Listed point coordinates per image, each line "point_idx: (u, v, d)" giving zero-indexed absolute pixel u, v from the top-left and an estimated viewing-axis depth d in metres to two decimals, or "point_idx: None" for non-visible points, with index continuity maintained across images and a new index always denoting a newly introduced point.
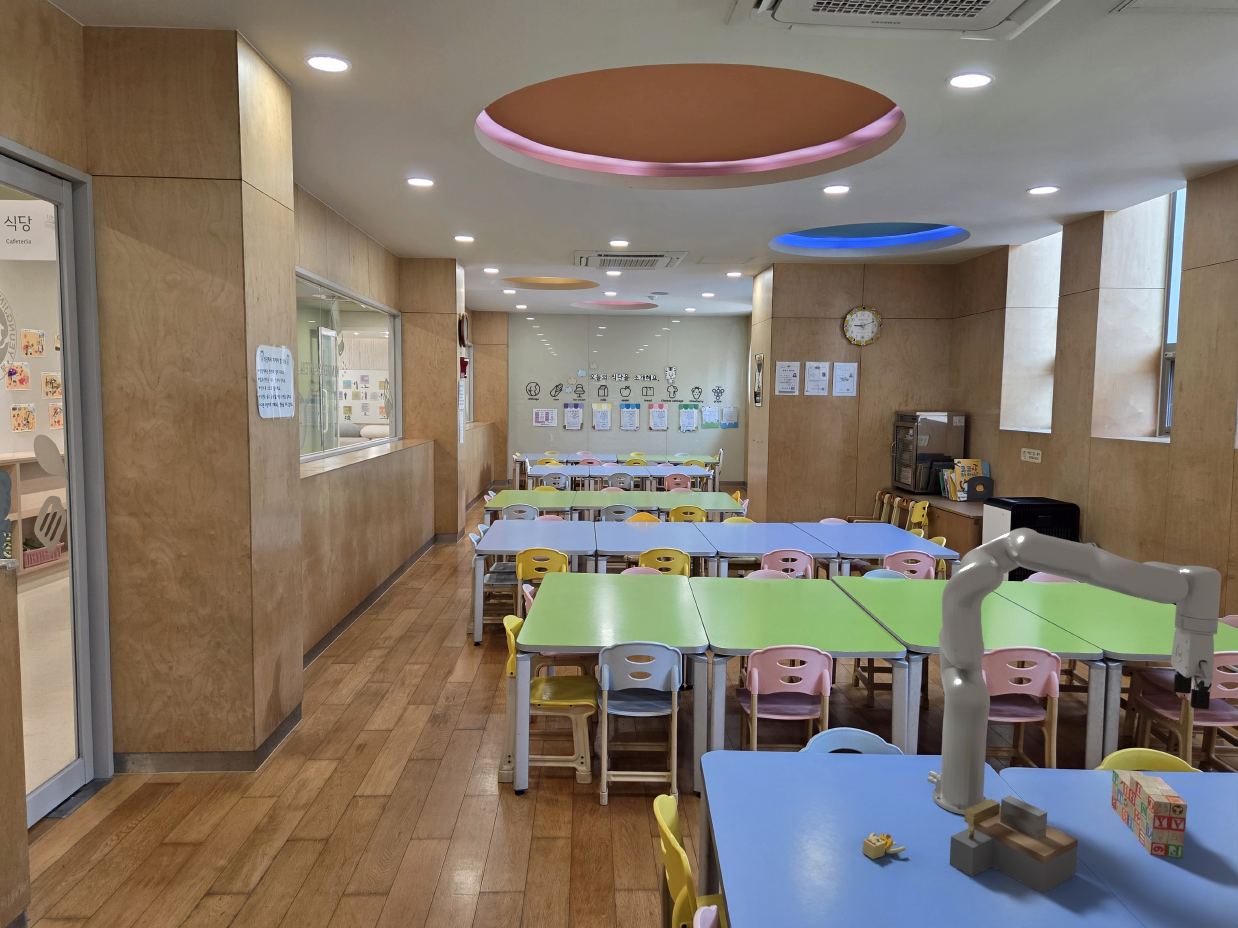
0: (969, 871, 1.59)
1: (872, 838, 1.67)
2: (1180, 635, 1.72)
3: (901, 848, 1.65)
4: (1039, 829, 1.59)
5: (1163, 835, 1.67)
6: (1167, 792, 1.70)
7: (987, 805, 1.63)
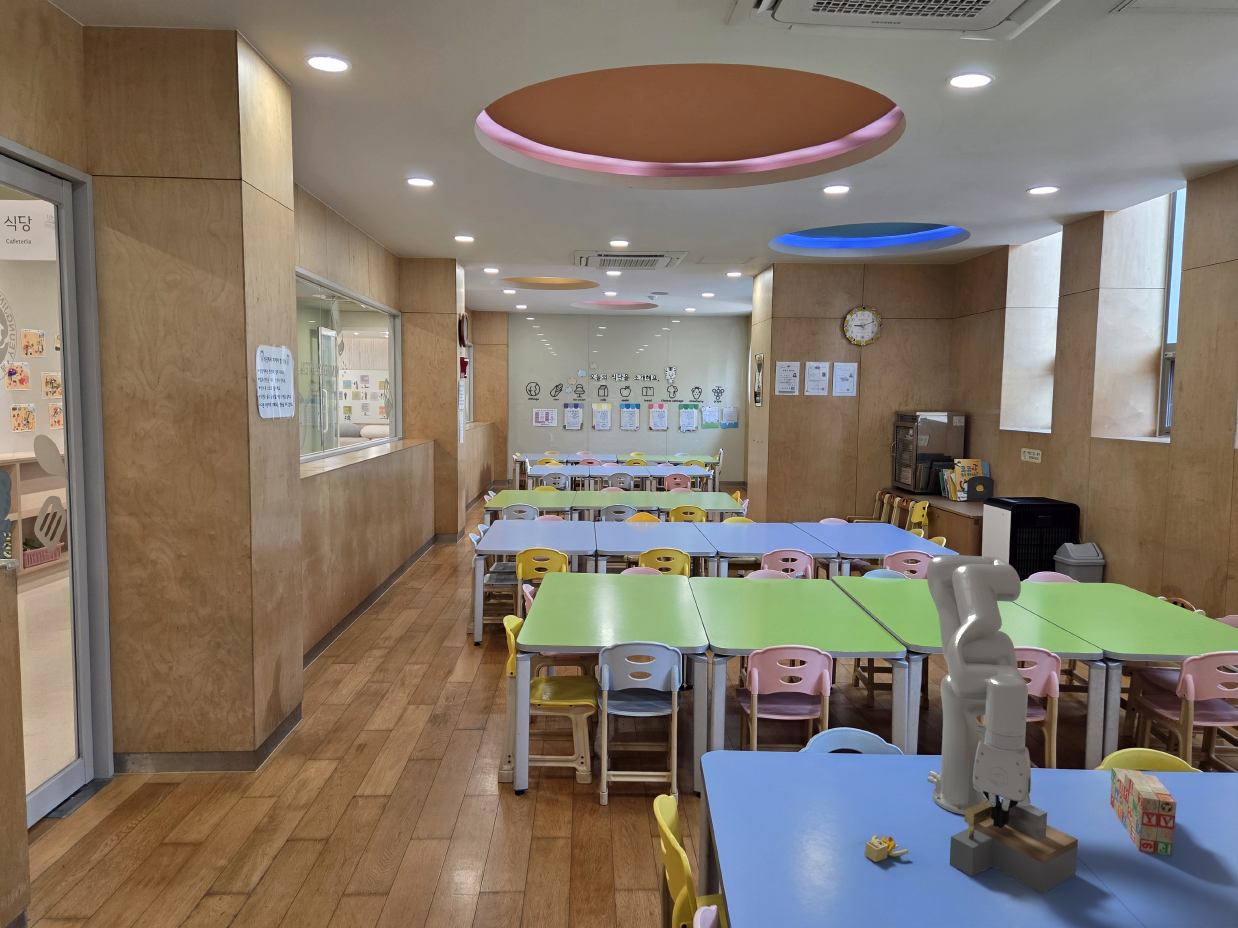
0: (969, 871, 1.59)
1: (874, 841, 1.65)
2: (999, 756, 1.58)
3: (904, 851, 1.64)
4: (1039, 829, 1.59)
5: (1152, 832, 1.68)
6: (1158, 789, 1.71)
7: (987, 805, 1.64)
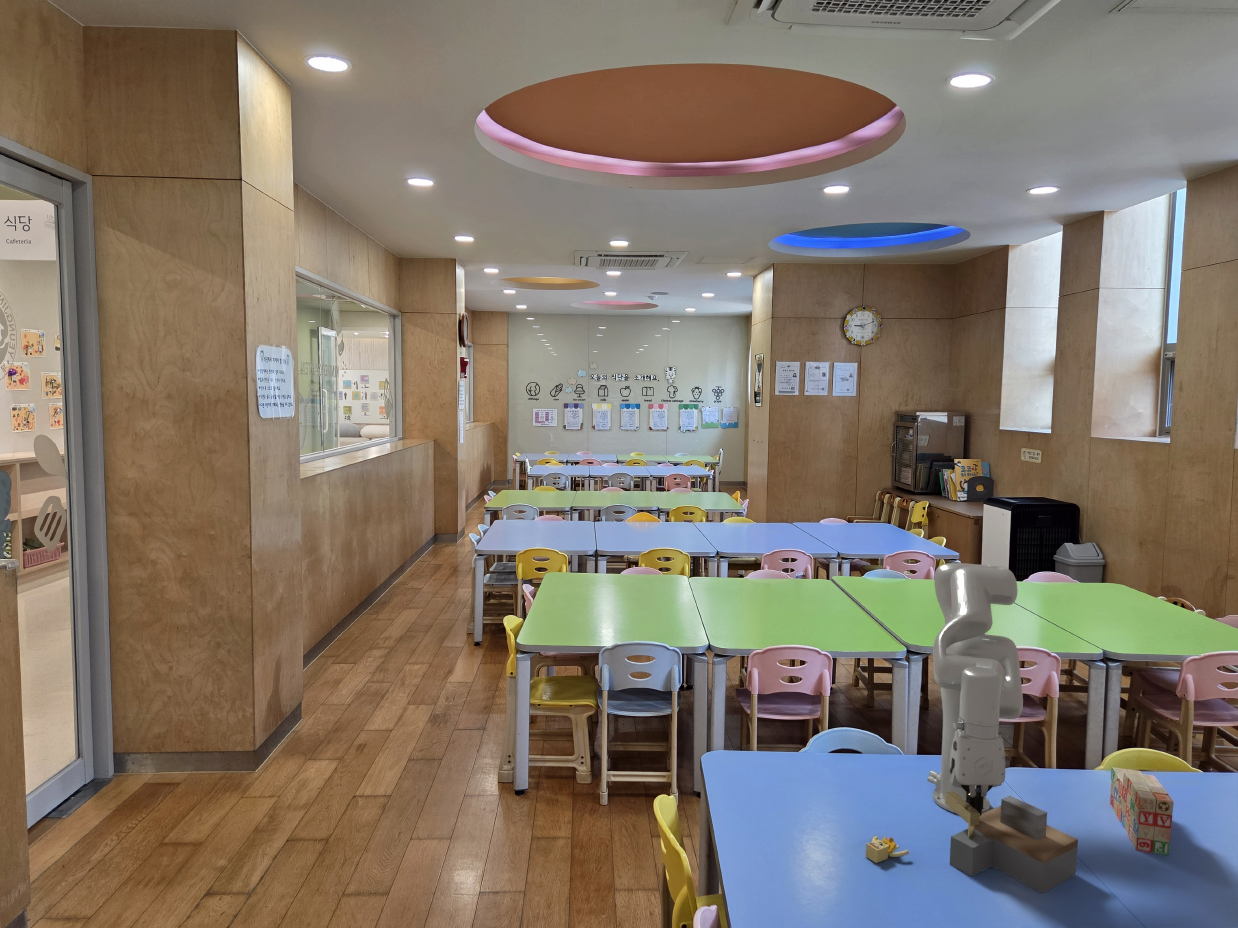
0: (969, 871, 1.59)
1: (875, 842, 1.65)
2: (984, 747, 1.62)
3: (904, 852, 1.64)
4: (1039, 829, 1.59)
5: (1149, 831, 1.68)
6: (1156, 789, 1.71)
7: (960, 799, 1.66)
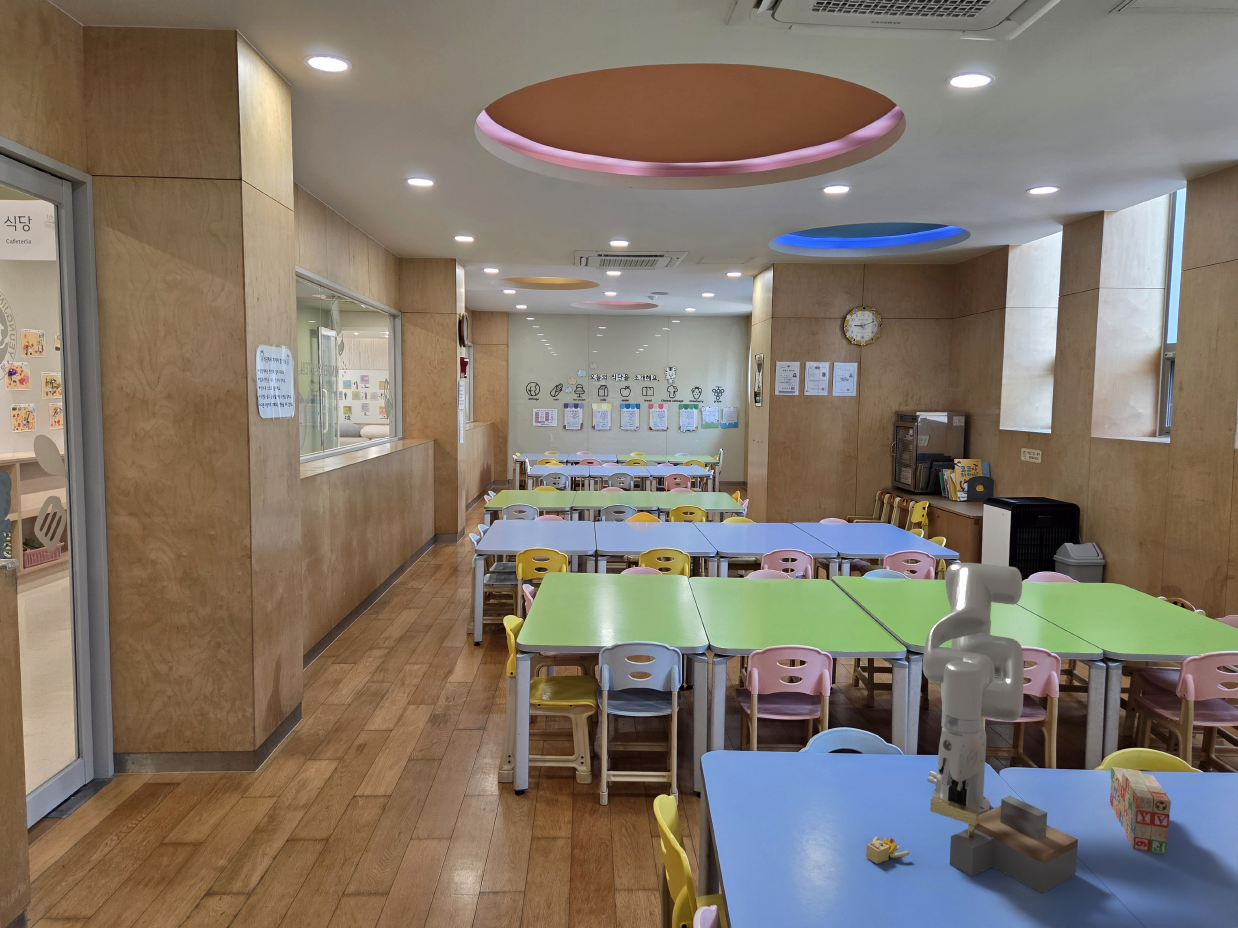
0: (969, 871, 1.59)
1: (876, 842, 1.65)
2: (972, 740, 1.63)
3: (905, 852, 1.63)
4: (1039, 829, 1.59)
5: (1146, 830, 1.68)
6: (1154, 788, 1.71)
7: (948, 802, 1.64)
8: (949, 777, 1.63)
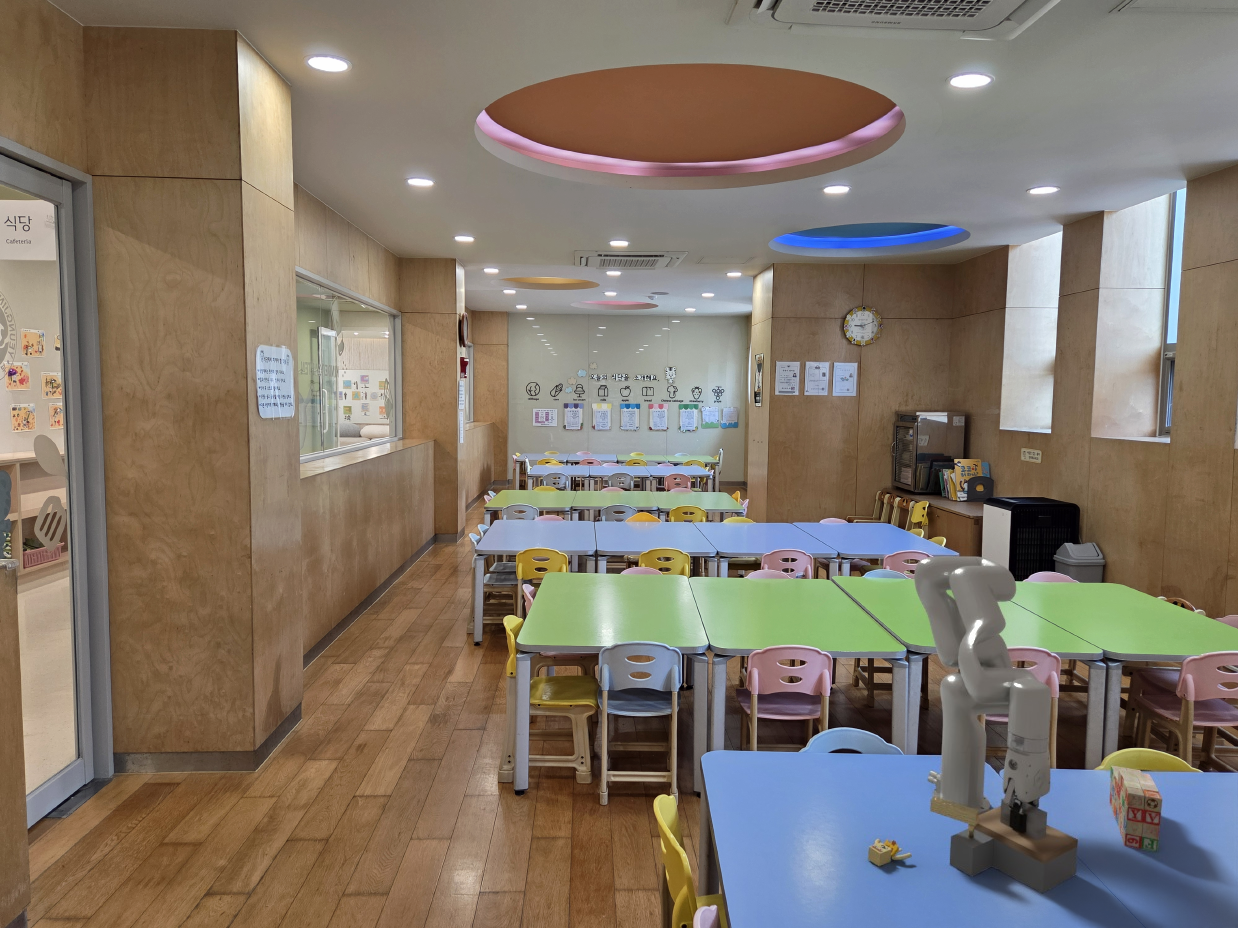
0: (969, 871, 1.59)
1: (878, 845, 1.64)
2: (1040, 760, 1.59)
3: (907, 855, 1.63)
4: (1039, 829, 1.59)
5: (1138, 827, 1.69)
6: (1147, 786, 1.72)
7: (948, 802, 1.64)
8: (1013, 795, 1.59)
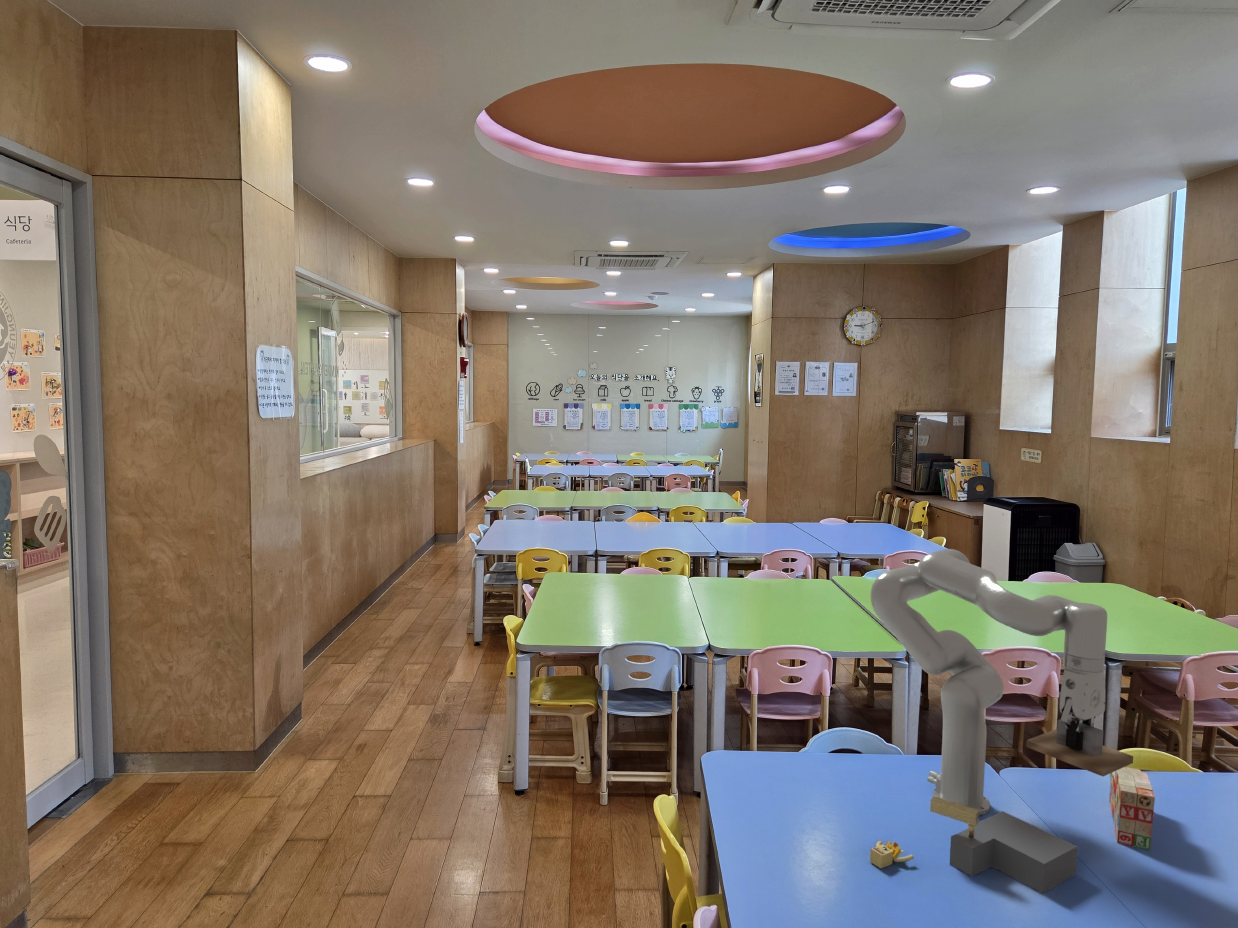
0: (969, 871, 1.59)
1: (879, 847, 1.63)
2: (1096, 680, 1.65)
3: (909, 857, 1.62)
4: (1096, 746, 1.64)
5: (1130, 825, 1.70)
6: (1141, 785, 1.73)
7: (948, 802, 1.64)
8: (1071, 713, 1.65)
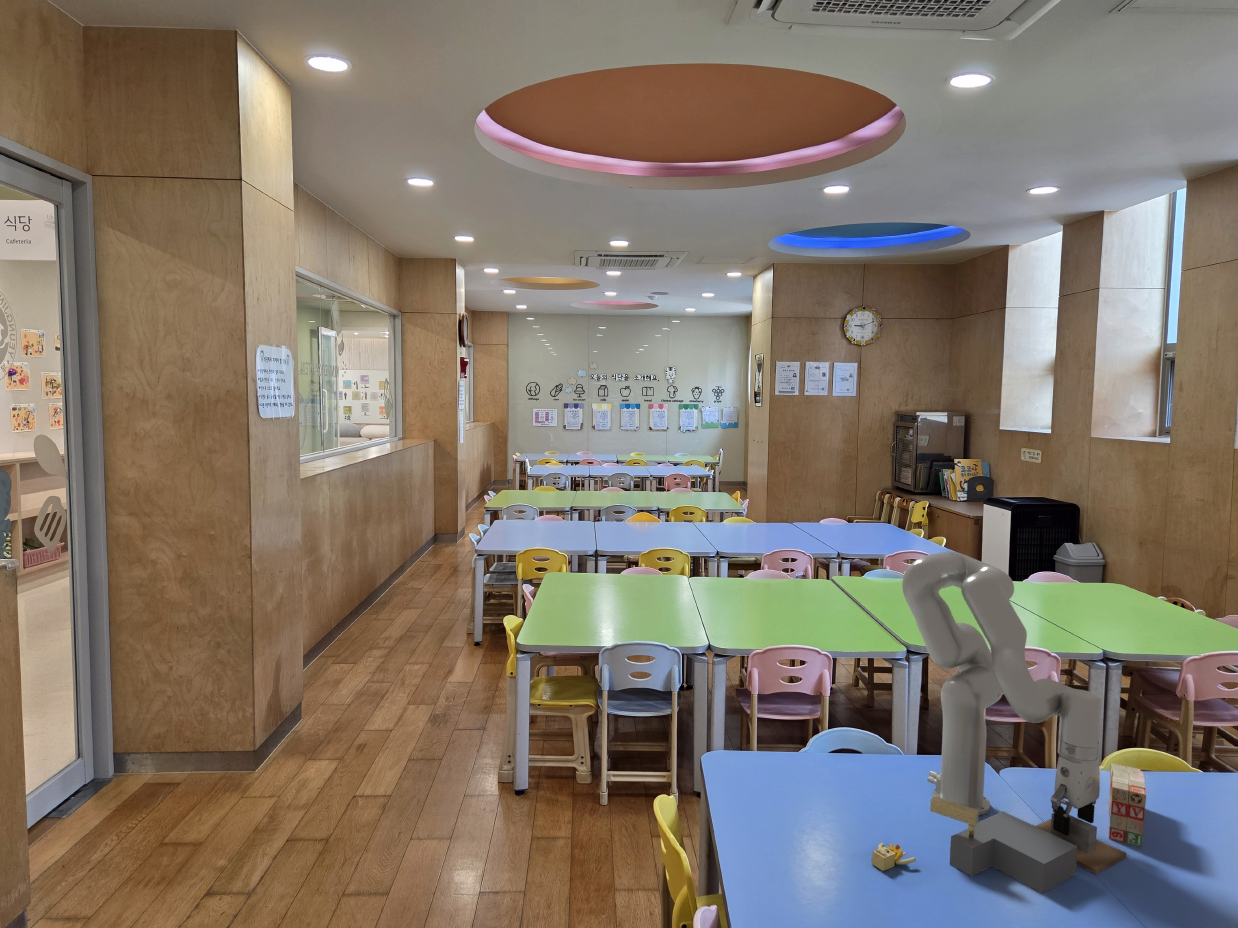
0: (969, 871, 1.59)
1: (881, 849, 1.62)
2: (1090, 767, 1.66)
3: (911, 859, 1.61)
4: (1090, 843, 1.66)
5: (1122, 822, 1.72)
6: (1135, 782, 1.74)
7: (948, 802, 1.64)
8: (1064, 792, 1.66)
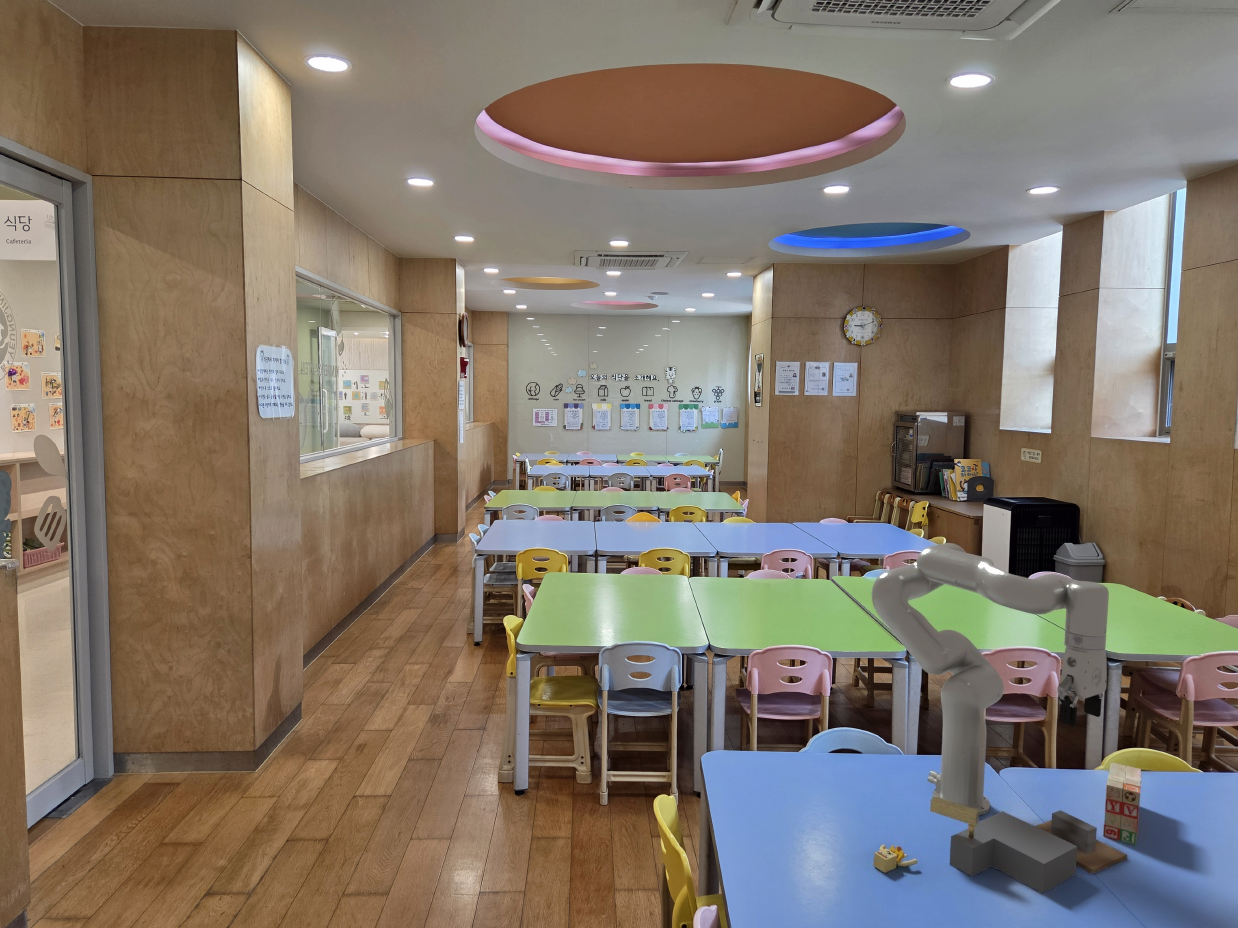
0: (969, 871, 1.59)
1: (883, 851, 1.62)
2: (1097, 658, 1.65)
3: (913, 861, 1.60)
4: (1089, 843, 1.66)
5: (1116, 819, 1.73)
6: (1130, 781, 1.75)
7: (948, 802, 1.64)
8: (1071, 682, 1.64)
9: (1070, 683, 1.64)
